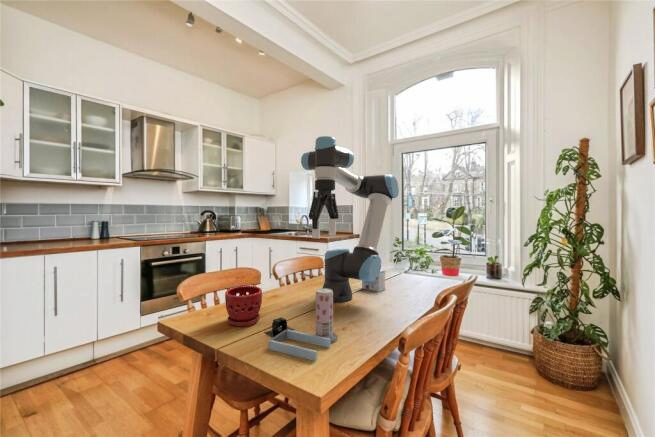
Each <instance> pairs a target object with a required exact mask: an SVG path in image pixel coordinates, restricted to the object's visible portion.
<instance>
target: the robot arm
mask: <svg viewBox="0 0 655 437" xmlns="http://www.w3.org/2000/svg"><path fill="white" fill-rule="evenodd" d="M314 145H315V146H314V150H313V151H307V152H304V153H303V154H302V155H301V158H300V164H301V166H302V168H303V169H304V170H306V171H314V178H315V180H314V190H315V191H313V196H312V200H311V205H310V209H309V213H308V218H309V220H311V223H312V224H311V225H312V226H311V227H312V228H311V231H312V232H311V239H319V240H320V239H321V219H320V217H321V215H322V212H323V210H324V207H325V208H326V211H327V214H328V216H329V218H328V236H333V237H335V236H336V235H337V231H336V229H337V228H336V227H337V219H339V210H338V206H337V200H336V193H332V191H335V190H336V183H337V184H338V185H340V186H341V187H344V189H345V191H347V192H348V193H350V194H352V195H354V196H357V197H360V198H362V199H367V200H368V201H369V204H368V208H367V212H366V215H365V219H364V222H363V227H362V230H361V235H360V237H359V241H358V245H355V246H354V247H353V250H352V252H350V249H349V248H340V249H339V248H336V249H331V250H330V249H329V250H327V251H326V252H325V253H324V258H323V259H324V283H323V285H322V288H327V289H331V290H332V291H333V303H345V302H349V301H351V300H353V291H352V288H351V285H350V279H352V280H358V281H361V282H362V281H373V280H374V279H376V278H377V276H378V275H379V273H380V270H381V269H382V258H381V256H379V255H380V253H379V251H378V250H377V249H378V245H379V240H380V236H381V233H382V229H383V225H384V221H385V217H386V213H387V212H386V211H387V208H388V206H389V205H391V204H392V201H393V199H396V198H397V197H398V195H399V183H398V180H397V178H396V176H395V175H393V174H379V175H358V174H356V173H352V172H351V171H348V170H347V169H348V168H350V167H352V165H353V163H354V160H355V156H354V153H353V152H352V151H351V150H349V149H347V148H344V147H340V146H337V142H336V138H335V137H333V136H329V135H323V136H318V137H317V138H315V144H314Z"/></svg>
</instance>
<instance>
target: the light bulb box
mask: <svg viewBox="0 0 655 437" xmlns="http://www.w3.org/2000/svg"><path fill="white" fill-rule="evenodd" d="M361 289H364V290H369V291H373V292H377V293H378V292H383V291H384V290H386V269H383V268H381V270H380V273H379V275H378V276H377V278H376V279H374V280H373V281H362V280H361Z"/></svg>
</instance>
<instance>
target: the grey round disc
mask: <svg viewBox="0 0 655 437" xmlns="http://www.w3.org/2000/svg"><path fill="white" fill-rule="evenodd" d="M313 335H315V333H314V334H313ZM315 336H316V335H315ZM338 337H339V336H338V335H337V333H334V332H333V336H332V337H331V338H330V344H333V343H336V342H337V341H338Z"/></svg>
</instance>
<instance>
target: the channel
mask: <svg viewBox="0 0 655 437" xmlns="http://www.w3.org/2000/svg"><path fill="white" fill-rule="evenodd" d="M287 339H289V340H293V341H298V342H301V343H306V344H310V345H315V346H320V347H323V348H327V349H329V348H330V349H331V343H330V339H329V338H325V337H320V336H315V335H314V334H310V333H305V332H300V331H296V330H293V331H292V330H287V329H286V330H284V331H283V332H281V333H280V334H278V335H276V336H275V337H273V338H272V337H271V338H270V339H268V341H267V343H268V344H267V345H268V346H267V348H268V350H271V351H274V352H278V353H283V354H286V355H290V356H294V357H298V358H302V359H306V360H309V361H314V362H316V361H317V360H318V351H317V350H315V349H311V348H306V347H302V346H297V345H293V344H290V343H286V342H284V341H285V340H287Z"/></svg>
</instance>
